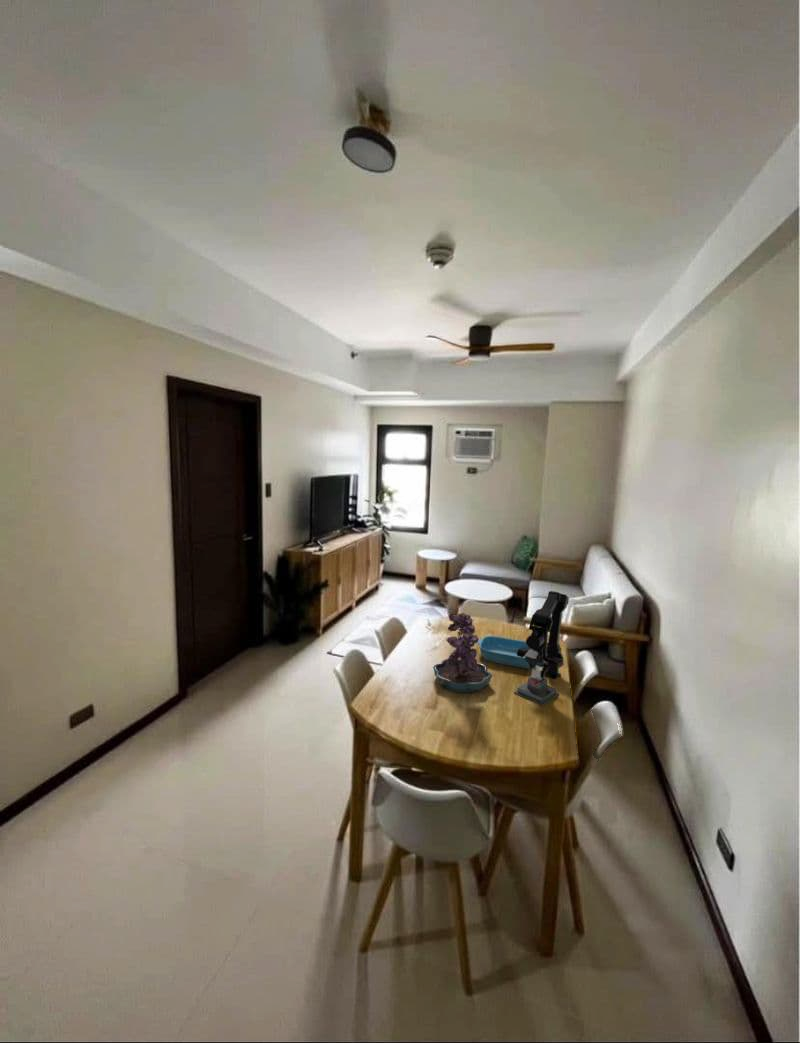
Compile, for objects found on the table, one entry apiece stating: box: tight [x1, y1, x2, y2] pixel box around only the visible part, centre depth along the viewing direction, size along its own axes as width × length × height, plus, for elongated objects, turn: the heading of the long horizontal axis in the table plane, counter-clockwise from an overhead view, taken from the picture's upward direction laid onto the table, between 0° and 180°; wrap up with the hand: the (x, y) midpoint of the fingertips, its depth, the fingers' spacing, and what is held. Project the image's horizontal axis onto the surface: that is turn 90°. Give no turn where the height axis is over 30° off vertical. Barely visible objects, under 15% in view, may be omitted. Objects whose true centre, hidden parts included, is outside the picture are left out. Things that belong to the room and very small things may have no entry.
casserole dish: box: [476, 635, 544, 670], centre depth 223 cm, size 37×22×7 cm, turn 69°
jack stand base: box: [513, 676, 560, 706], centre depth 189 cm, size 14×14×7 cm
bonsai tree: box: [432, 612, 493, 693], centre depth 193 cm, size 35×27×32 cm
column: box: [530, 666, 545, 682], centre depth 188 cm, size 4×4×11 cm
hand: (537, 676), depth 188 cm, fingers closed on column, 4 cm apart
